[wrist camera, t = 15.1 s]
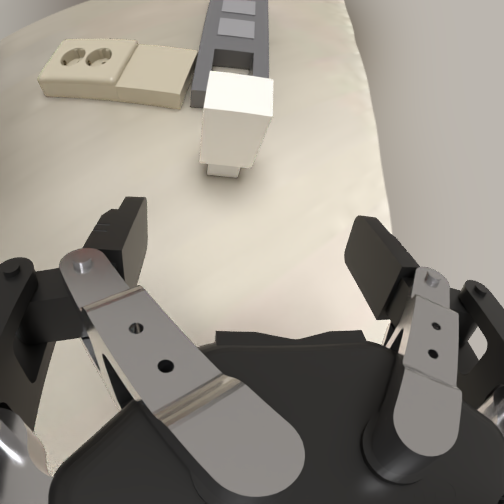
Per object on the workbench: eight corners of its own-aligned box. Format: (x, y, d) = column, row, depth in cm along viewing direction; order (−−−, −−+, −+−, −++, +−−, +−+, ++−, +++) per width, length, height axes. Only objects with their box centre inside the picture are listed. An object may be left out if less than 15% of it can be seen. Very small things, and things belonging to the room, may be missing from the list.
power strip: (190, 107, 32) (191, 85, 28) (213, -9, 37) (216, -27, 34) (263, 114, 33) (270, 93, 30) (263, -3, 39) (268, -20, 35)
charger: (198, 179, 30) (203, 108, 19) (202, 147, 31) (210, 70, 20) (244, 184, 31) (272, 116, 20) (246, 152, 32) (273, 79, 21)
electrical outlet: (179, 88, 28) (35, 78, 26) (180, 111, 32) (45, 98, 30) (198, 44, 30) (63, 37, 27) (196, 68, 34) (70, 58, 31)
